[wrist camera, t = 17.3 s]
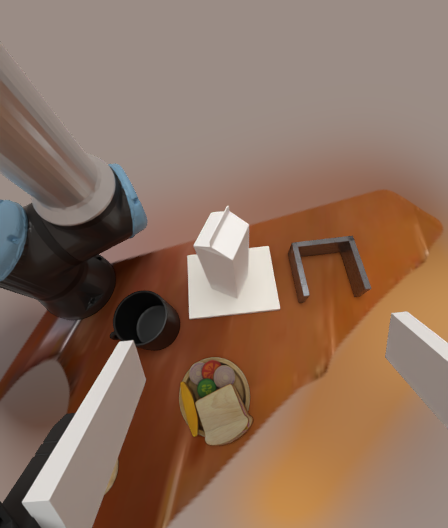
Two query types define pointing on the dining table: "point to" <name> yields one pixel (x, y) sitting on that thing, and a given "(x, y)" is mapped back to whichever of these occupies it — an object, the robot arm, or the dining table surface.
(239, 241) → the milk
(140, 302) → the mug
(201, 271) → the board
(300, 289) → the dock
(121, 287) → the dining table surface
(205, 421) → the toy sandwich meal
